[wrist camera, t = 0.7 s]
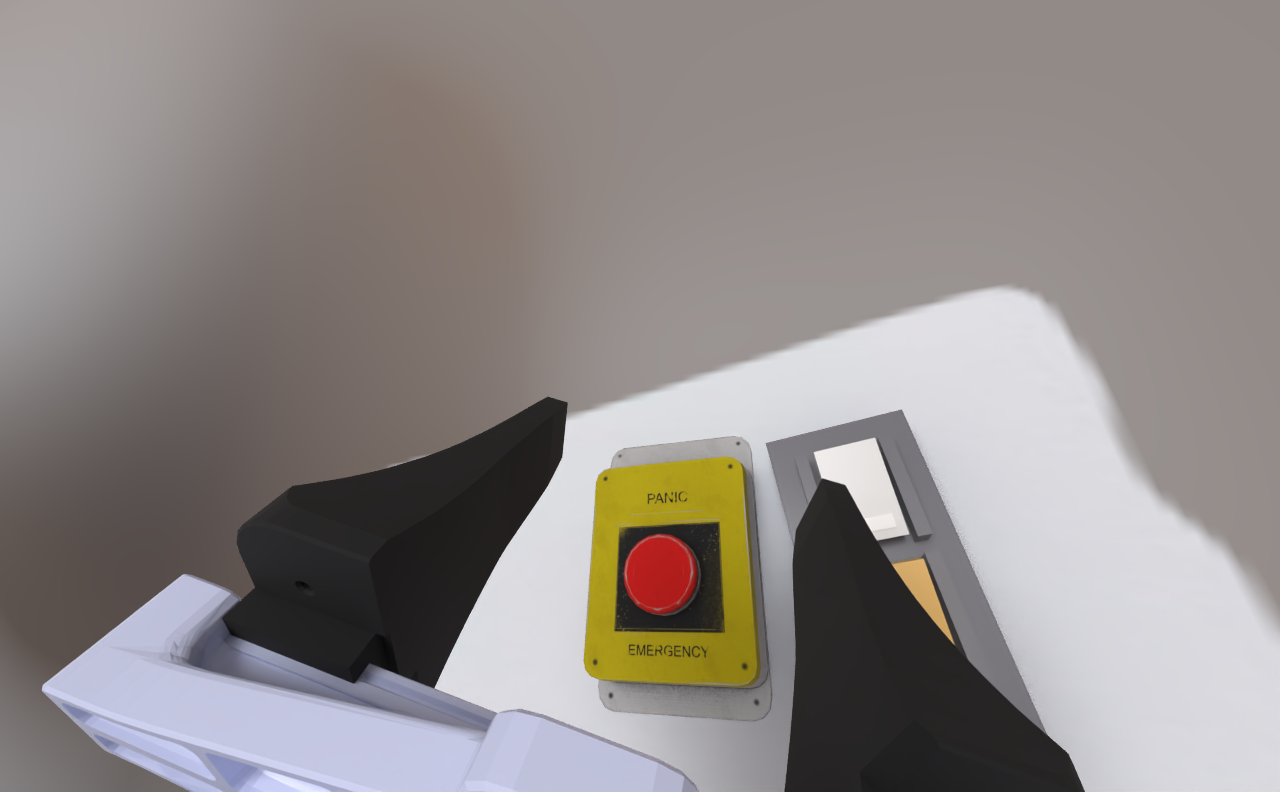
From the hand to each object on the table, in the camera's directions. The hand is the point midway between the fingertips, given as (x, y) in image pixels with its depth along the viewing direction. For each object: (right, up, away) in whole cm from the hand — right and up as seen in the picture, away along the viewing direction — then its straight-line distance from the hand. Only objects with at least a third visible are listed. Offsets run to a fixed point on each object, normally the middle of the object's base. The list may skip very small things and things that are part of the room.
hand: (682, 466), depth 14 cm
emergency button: (+1, -8, +15) cm, 17 cm away
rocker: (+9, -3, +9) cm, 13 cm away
